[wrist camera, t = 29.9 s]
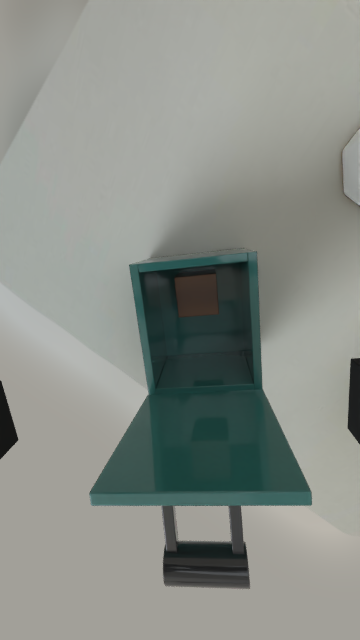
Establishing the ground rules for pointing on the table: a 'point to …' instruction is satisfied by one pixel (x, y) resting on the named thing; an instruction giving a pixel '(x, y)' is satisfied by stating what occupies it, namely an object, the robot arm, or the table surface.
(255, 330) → the tin
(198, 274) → the block
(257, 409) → the lid
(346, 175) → the cup
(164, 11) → the table surface
